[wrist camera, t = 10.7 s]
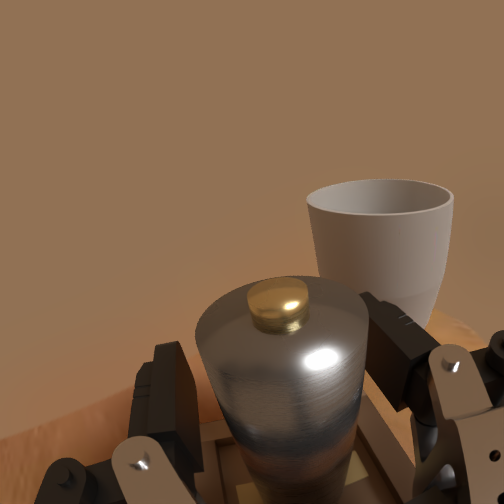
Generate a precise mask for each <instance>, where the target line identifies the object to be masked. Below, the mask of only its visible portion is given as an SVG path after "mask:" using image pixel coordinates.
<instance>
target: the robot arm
mask: <svg viewBox="0 0 504 504" xmlns="http://www.w3.org/2000/svg"><path fill="white" fill-rule="evenodd" d="M358 295H359V296H360V297H361V298H362V299H363V301H364V302H365V304H366V306H367V309H368V314H369V325H368V340H367V352H366V363H365V370H366V371H367V372H368V374H369V375H370V376H371V378H372V379H373V380H374V382H375V383H376V385H377V386H378V387H379V389H380V390H381V391H382V393H383V394H384V395H385V397H386V398H387V400H388V401H389V402H390V404H391V405H392V406H393V408H394V409H395V411H396V412H399V411H401V410H403V409H405V408H407V407H409V408H410V410H411V411H412V414H411V417H410V422H411V429H412V437H413V445H414V454H415V463H416V471H415V476H414V480H413V487H412V500H410V501H408V502H406V503H404V504H504V330H502V331H498V332H496V333H495V334H494V335H493V336H492V338H491V340H490V343H489V346H488V347H486V348H483V349H479V350H475V351H472V352H468V351H467V350H466V349H465V348H463V347H461V346H458V345H454V344H445V345H440V344H439V343H438V342H437V341H436V340H435V339H434V338H433V337H432V336H431V335H429V334H428V333H427V332H426V331H425V330H424V329H423V328H422V327H421V326H419V325H418V324H417V323H416V322H414V321H413V319H412V318H410V317H409V316H408V315H406V313H405V312H404V311H402V310H401V309H400V308H399V307H398V306H396V305H394V304H391V303H389V302H387V301H381V302H380V301H379V300H378V299H376V298H375V297H374V296H373V295H372V294H371V293H370V292H368V291H366V292H363V293H360V294H358ZM133 398H134V399H133V400H132V407H131V415H130V422H129V431H128V438H127V439H126V440H124V441H123V442H121V443H120V444H119V445H118V446H117V447H116V449H115V450H114V452H113V455H112V458H111V459H109V460H106V461H103V462H100V463H97V464H93V465H90V466H86V467H84V466H83V465H82V464H81V463H80V462H79V461H77V460H75V459H73V458H61V459H59V460H57V461H55V462H54V463H52V464H51V465H50V467H49V468H48V470H47V472H46V474H45V476H44V479H43V481H42V484H41V486H40V489H39V492H38V494H37V497H36V500H35V502H34V504H207V502H206V501H205V499H204V498H203V497H202V495H201V494H200V492H199V491H198V490H197V488H196V487H195V479H194V473H200V472H204V464H203V455H202V446H201V436H200V426H199V414H198V402H197V390H196V385H195V381H194V377H193V374H192V372H191V370H190V367H189V365H188V362H187V360H186V357H185V355H184V352H183V350H182V347H181V345H180V343H179V342H178V341H175V342H169V343H165V344H160V345H156V346H155V351H154V359H153V361H152V362H146V363H144V364H143V365H142V367H141V369H140V370H139V371H138V373H137V375H136V381H135V389H134V393H133Z"/></svg>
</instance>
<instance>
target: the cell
mask: <svg viewBox="0 0 504 504" xmlns="http://www.w3.org/2000/svg"><path fill="white" fill-rule="evenodd" d="M368 325H369V314H368V309H367V306H366V304H365V302H364V301H363V299H362V298H361V297H360V296H359V295H358V294H357V293H356V292H355V291H354V290H352V289H351V288H349V287H347V286H345V285H343V284H341V283H339V282H336V281H333V280H329V279H325V278H320V277H312V276H285V277H276V278H270V279H265V280H261V281H257V282H253V283H250V284H247V285H244V286H242V287H240V288H237V289H235V290H233V291H231V292H229V293H227V294H226V295H224V296H222V297H221V298H219V299H218V300H216V301H215V302H214V303H213V304H212V305H211V306H209V307H208V308H207V310H206V311H205V312H204V313H203V314H202V316H201V318H200V319H199V321H198V323H197V327H196V330H195V339H196V344H197V347H198V350H199V353H200V356H201V358H202V361H203V364H204V367H205V369H206V372H207V375H208V377H209V380H210V383H211V385H212V388H213V390H214V393H215V396H216V398H217V401H218V403H219V406H220V408H221V411H222V413H223V415H224V418H225V420H226V423H227V425H228V427H229V430H230V432H231V434H232V437H233V439H234V441H235V444H236V446H237V448H238V450H239V452H240V455H241V457H242V459H243V461H244V463H245V466H246V468H247V470H248V472H249V474H250V476H251V478H252V480H253V482H254V484H255V486H256V488H257V490H258V492H259V494H260V496H261V498H262V500H263V502H264V504H337V502H338V501H339V499H340V498H341V495H342V493H343V490H344V486H345V482H346V478H347V473H348V469H349V464H350V460H351V455H352V450H353V445H354V440H355V435H356V429H357V423H358V417H359V411H360V404H361V397H362V389H363V381H364V372H365V363H366V352H367V340H368Z"/></svg>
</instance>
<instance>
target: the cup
mask: <svg viewBox="0 0 504 504" xmlns="http://www.w3.org/2000/svg"><path fill="white" fill-rule="evenodd" d="M453 201H454V196H453V194H452V193H451V192H450V191H449V190H447V189H445V188H443V187H440V186H437V185H434V184H431V183H426V182H420V181H413V180H402V179H371V180H359V181H351V182H344V183H339V184H334V185H330V186H327V187H324V188H321V189H318V190H316V191H314V192H312V193H311V194H309V195H308V197H307V205H308V211H309V216H310V222H311V227H312V233H313V239H314V245H315V251H316V257H317V264H318V271H319V274H320V278H325V279H329V280H333V281H336V282H339V283H341V284H343V285H345V286H347V287H349V288H351V289H352V290H354V291H355V292H356V293H357V294H360V293H363V292H366V291H368V292H370V293H371V294H372V295H373V296H374V297H375V298H376V299H378V300H379V301H380V302H381V301H387V302H389V303H391V304H394V305H396V306H398V307H399V308H400V309H401V310H402V311H404V312H405V313H406V315H408V316H409V317H410V318H412V319H413V321H414V322H416V323H417V324H418V325H419V326H421V327H422V328H423V329H424V328H425V327H426V325H427V323H428V320H429V318H430V315H431V312H432V310H433V307H434V304H435V301H436V298H437V295H438V292H439V289H440V286H441V282H442V279H443V276H444V272H445V267H446V261H447V254H448V248H449V240H450V232H451V224H452V214H453Z"/></svg>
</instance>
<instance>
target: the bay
mask: <svg viewBox="0 0 504 504" xmlns="http://www.w3.org/2000/svg"><path fill="white" fill-rule="evenodd" d="M199 426H200V436H201V446H202V455H203V464H204V472H200V473H194V479H195V487H196V488H197V490H198V491H199V492H200V494H201V495H202V497H203V498H204V499H205V501H206V502H207V504H264V502H263V500H262V498H261V496H260V494H259V492H258V490H257V488H256V486H255V484H254V482H253V480H252V478H251V476H250V474H249V472H248V470H247V468H246V466H245V463H244V461H243V459H242V457H241V455H240V452H239V450H238V448H237V446H236V444H235V441H234V439H233V437H232V434H231V432H230V430H229V427H228V425H227V423H226V420H225V419H223V420H218V421H213V422H207V423H202V424H199ZM415 471H416V468H415V467H414V465H413V463H412V462H411V460H410V459H409V457H408V456H407V454H406V453H405V451H404V450H403V448H402V447H401V445H400V444H399V442H398V441H397V439H396V438H395V436H394V435H393V433H392V432H391V430H390V429H389V427H388V426H387V424H386V423H385V421H384V420H383V418H382V417H381V415H380V414H379V412H378V411H377V409H376V408H375V406H374V405H373V403H372V402H371V400H370V399H369V397H368V396H367V395H366V393H365V392H364V390H363V389H362V397H361V404H360V411H359V417H358V423H357V429H356V435H355V440H354V445H353V450H352V455H351V460H350V464H349V469H348V473H347V478H346V482H345V486H344V490H343V493H342V495H341V498H340V499H339V501H338V502H337V504H404V503H406V502H408V501H410V500H412V487H413V480H414V476H415Z"/></svg>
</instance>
